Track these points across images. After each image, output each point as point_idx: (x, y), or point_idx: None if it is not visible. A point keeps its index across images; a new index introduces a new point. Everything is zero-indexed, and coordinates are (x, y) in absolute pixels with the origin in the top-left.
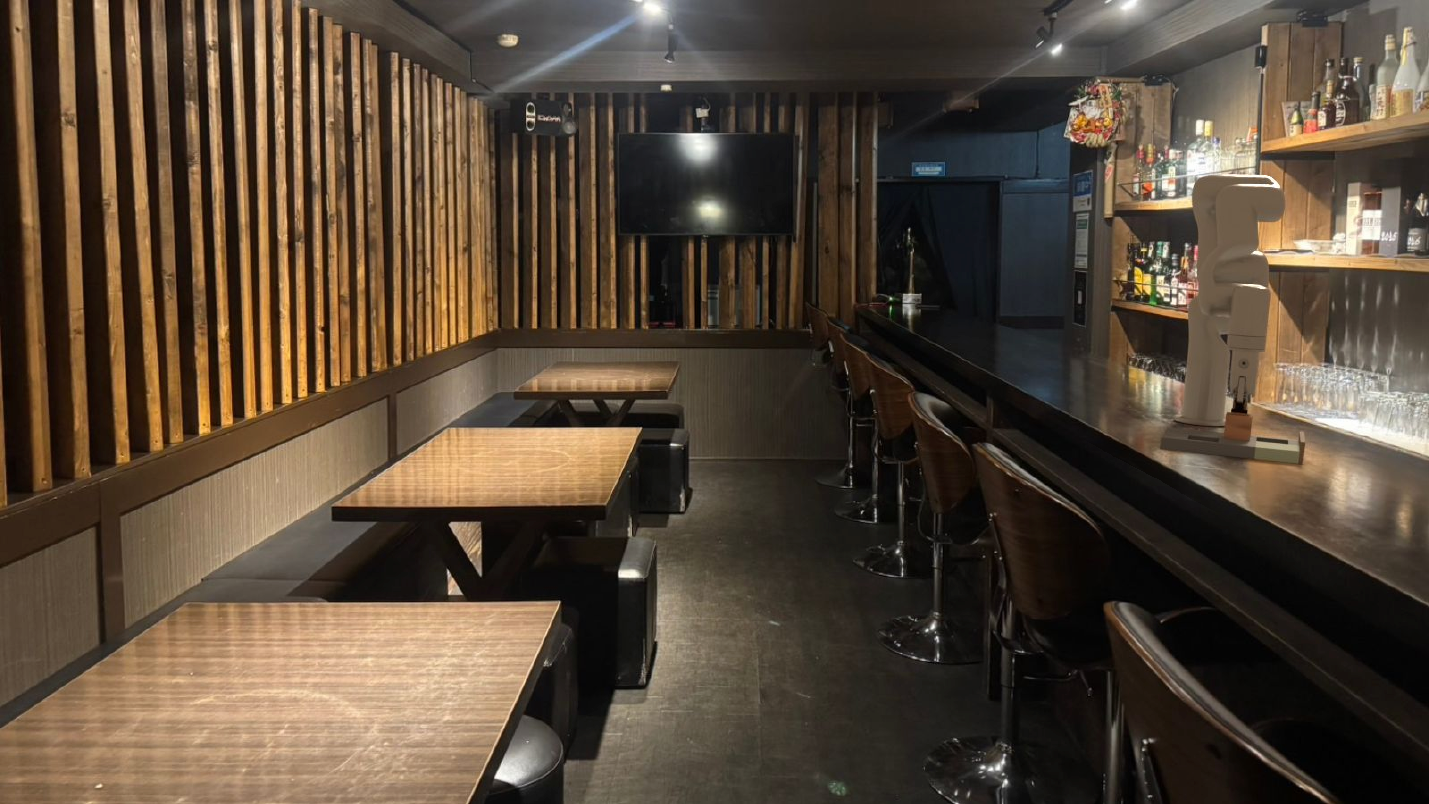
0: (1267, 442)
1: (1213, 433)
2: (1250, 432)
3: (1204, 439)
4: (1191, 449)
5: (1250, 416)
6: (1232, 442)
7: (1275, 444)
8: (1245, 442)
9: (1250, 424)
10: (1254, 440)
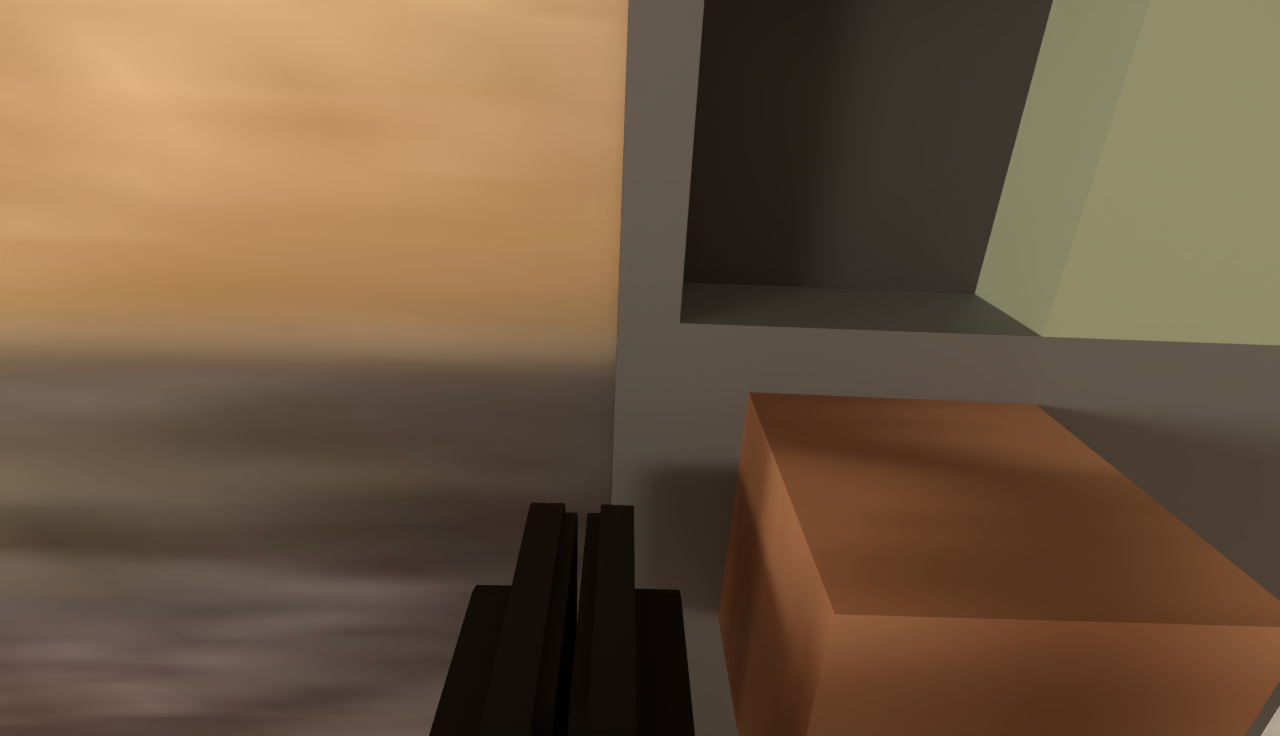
0: (1097, 206)
1: (708, 696)
2: (1102, 459)
3: None
4: None
5: (1199, 650)
6: (1233, 555)
7: (1243, 104)
8: (1188, 445)
9: (1189, 543)
10: (995, 354)
